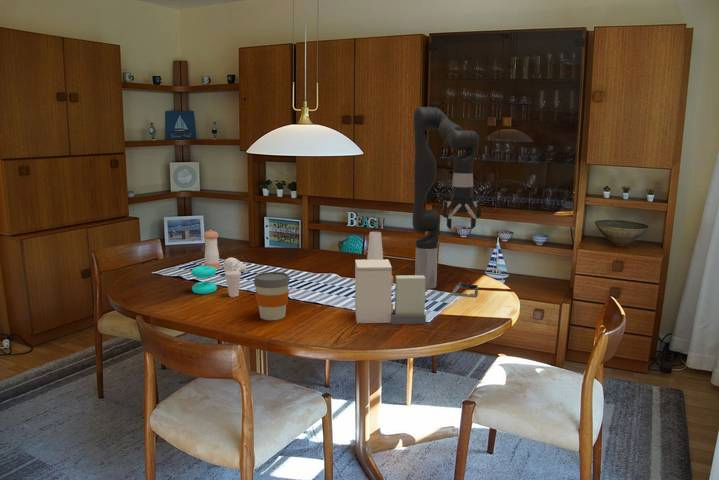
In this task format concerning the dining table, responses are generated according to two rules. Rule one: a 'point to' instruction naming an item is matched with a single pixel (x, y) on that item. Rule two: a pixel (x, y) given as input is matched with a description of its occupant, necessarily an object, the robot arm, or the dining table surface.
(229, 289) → the smoothie
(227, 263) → the white lumpy piece
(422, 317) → the hinge cabinet
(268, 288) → the reusable coffee cup
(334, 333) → the dining table surface
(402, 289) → the door panel
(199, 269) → the donuts
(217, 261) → the salt shaker
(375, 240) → the champagne flute
